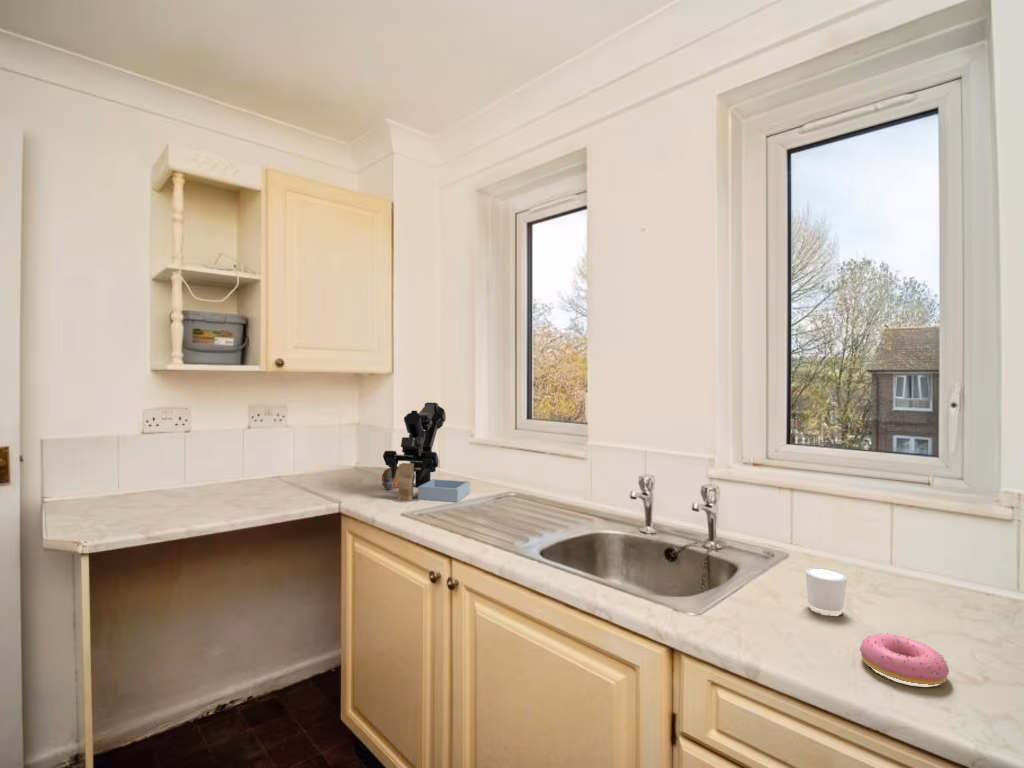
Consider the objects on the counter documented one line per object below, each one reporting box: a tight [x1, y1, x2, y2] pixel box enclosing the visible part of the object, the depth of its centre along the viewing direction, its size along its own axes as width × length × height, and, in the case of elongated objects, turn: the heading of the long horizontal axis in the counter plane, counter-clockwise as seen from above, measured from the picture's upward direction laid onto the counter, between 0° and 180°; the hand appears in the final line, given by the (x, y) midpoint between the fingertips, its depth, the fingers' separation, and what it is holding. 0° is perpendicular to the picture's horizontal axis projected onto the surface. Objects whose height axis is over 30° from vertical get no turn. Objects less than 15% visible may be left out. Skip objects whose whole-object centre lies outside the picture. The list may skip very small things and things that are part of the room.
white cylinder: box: [805, 567, 848, 611], centre depth 104 cm, size 7×7×7 cm
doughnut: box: [859, 632, 950, 685], centre depth 83 cm, size 11×11×4 cm
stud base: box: [392, 496, 419, 504], centre depth 186 cm, size 9×9×3 cm
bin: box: [417, 478, 471, 503], centre depth 192 cm, size 14×14×5 cm
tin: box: [381, 465, 415, 491], centre depth 206 cm, size 15×3×8 cm, turn 146°
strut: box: [397, 462, 415, 501], centre depth 186 cm, size 4×4×12 cm
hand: (405, 479), depth 186 cm, fingers open, 9 cm apart
